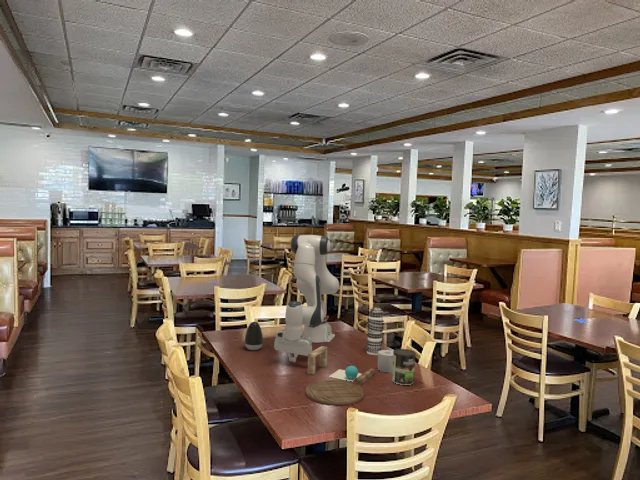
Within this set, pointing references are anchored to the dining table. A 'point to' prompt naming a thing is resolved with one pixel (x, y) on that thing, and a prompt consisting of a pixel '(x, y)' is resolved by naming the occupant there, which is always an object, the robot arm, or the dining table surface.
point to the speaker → (253, 336)
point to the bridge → (312, 358)
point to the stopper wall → (364, 377)
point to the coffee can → (403, 366)
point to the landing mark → (342, 375)
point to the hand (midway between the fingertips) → (292, 361)
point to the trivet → (334, 392)
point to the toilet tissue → (385, 361)
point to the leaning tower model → (375, 331)
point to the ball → (351, 372)
